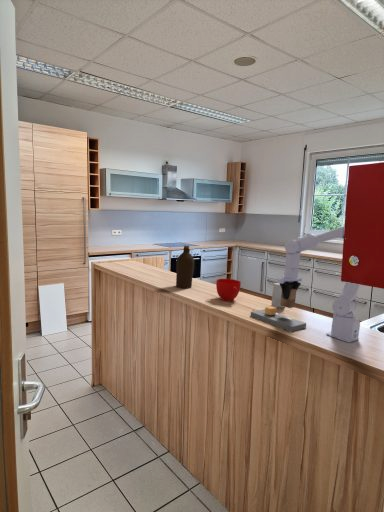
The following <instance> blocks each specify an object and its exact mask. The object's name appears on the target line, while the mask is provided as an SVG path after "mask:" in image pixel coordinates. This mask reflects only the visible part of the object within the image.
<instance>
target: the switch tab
mask: <svg viewBox="0 0 384 512" xmlns="http://www.w3.org/2000/svg"><path fill="white" fill-rule="evenodd" d="M264 309H265V314H268V315H274V314H276V313H277V309H278V307H273V306H272V305H269V306H265V307H264Z"/></svg>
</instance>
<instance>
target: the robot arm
mask: <svg viewBox="0 0 384 512" xmlns="http://www.w3.org/2000/svg"><path fill="white" fill-rule="evenodd" d="M334 239H335V240H336V239H344V226H341V227H338V228H335V229H331V230H328V231H326V232H323V233H321V234H318V235H317V234H315V233H310V232H309V233H306V235H304V236H301V237H299V236H298V237H296V238H295V239H289V240H287V242H286V243H285V244H284V249H285V252H286V254H285V265H284V272H283V273H284V275H282V276H281V277H279V278H277V279H278V281H277V283H279V284H280V286H281V289H282V293H283V298H284V299H288V298H289V294H290V290H291V288H293V289H296V292H297V291H298V289H299V287H300V286H302V285H301V284H302V282H303V276H299V270H300V269H299V267H300V262H301V261H300V259H301V253H302V252H305V251H307V250H311V249H314V248H318V246H319V245H320V243H321V244H322V243H324V242H327V241H331V240H334ZM360 286H361V284H355V283H350V282H346V281H345V283H344V285H343V289H342V290H341V292H340V294H339V295H338V297H337V299H336V300H335V301H333V303H332V310H333V314H332V321H331V331H329V332H326V336H330V337H331V338H335V339H337V340H340V341H343V342H346V343H351V342H354V341H355V342H356V341H357V340H359V339H360V337H359V335H360V327H361V321H360V319H358V318H357V317H354V315H355V314H354V311H355V310H356V308H357V298H358V291H359V288H360Z"/></svg>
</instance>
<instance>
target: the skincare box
mask: <svg viewBox="0 0 384 512" xmlns="http://www.w3.org/2000/svg"><path fill="white" fill-rule="evenodd" d="M281 292H282V289H281V286H280V284H279V283H278V282H273V285H272V295H271V306H272V307H276V308H277V309H278V308H280V309H281V308H283V309H284V308H286V307H284V306H281V305H280V303H281Z"/></svg>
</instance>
